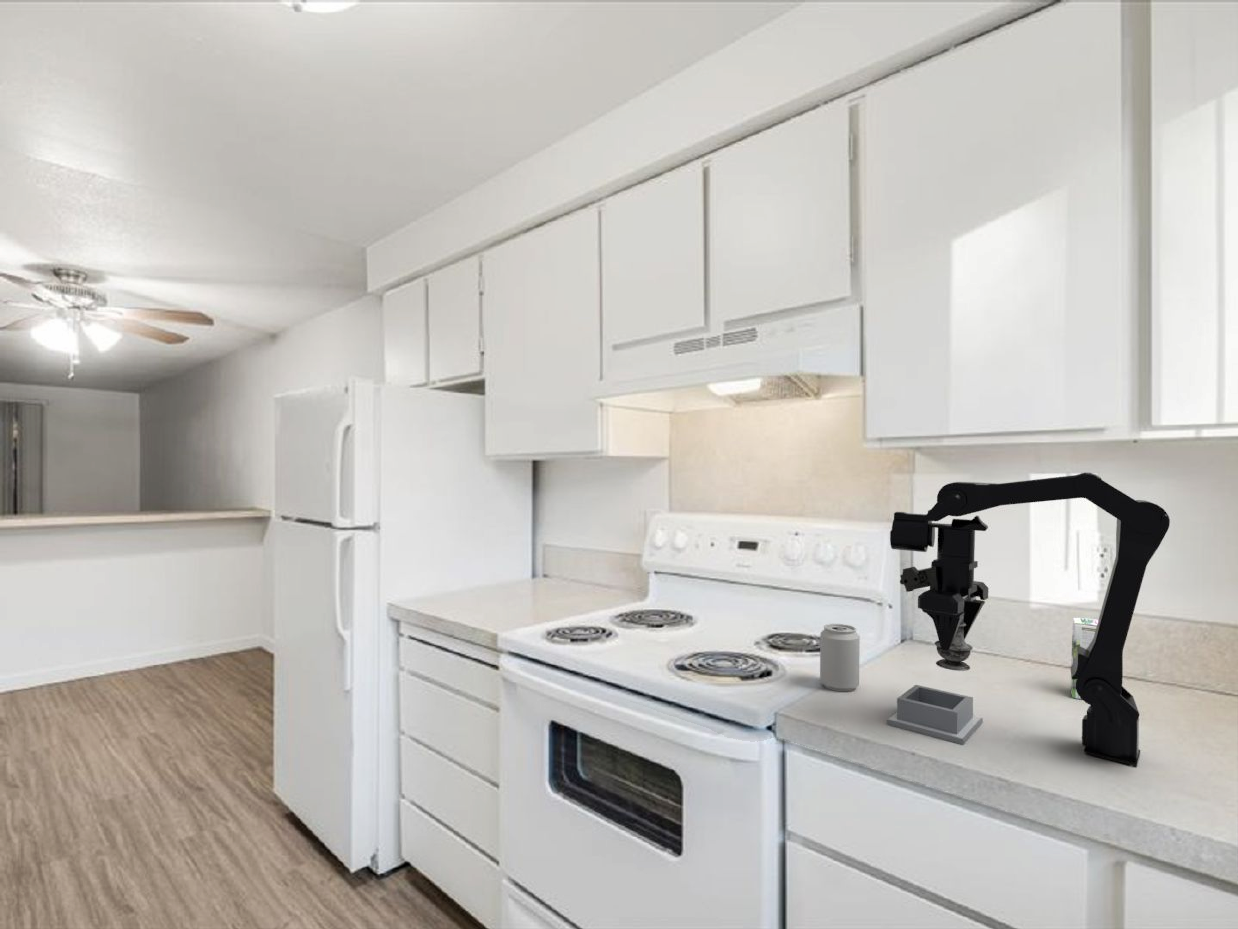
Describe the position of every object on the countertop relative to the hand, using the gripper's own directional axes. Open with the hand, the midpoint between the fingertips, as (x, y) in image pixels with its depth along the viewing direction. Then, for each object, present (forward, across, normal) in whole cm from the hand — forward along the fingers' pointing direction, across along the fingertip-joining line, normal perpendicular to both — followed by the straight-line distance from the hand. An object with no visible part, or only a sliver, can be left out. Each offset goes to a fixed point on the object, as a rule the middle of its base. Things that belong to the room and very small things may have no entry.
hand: (953, 645), depth 114 cm
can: (+14, -4, -22) cm, 26 cm away
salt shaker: (+4, 0, 0) cm, 4 cm away
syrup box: (+13, -32, +15) cm, 38 cm away
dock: (+13, +3, -2) cm, 14 cm away
